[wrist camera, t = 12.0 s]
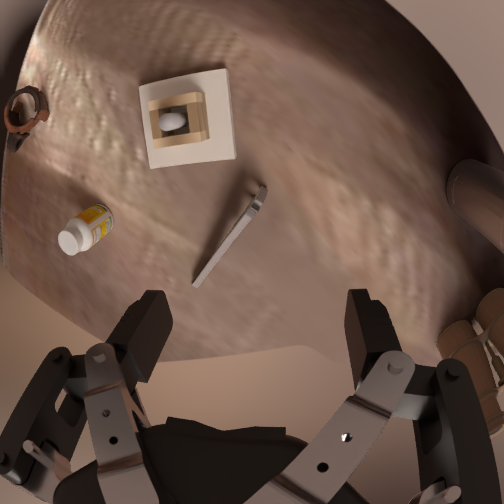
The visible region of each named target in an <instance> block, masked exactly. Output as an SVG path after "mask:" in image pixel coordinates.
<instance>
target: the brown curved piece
mask: <svg viewBox="0 0 504 504" xmlns="http://www.w3.org/2000/svg"><path fill="white" fill-rule="evenodd" d="M22 93H29V94H31V95H32V96H33V98H34V100H35V112H36V111H38V112H37V115H36V116H35V118H31V119H30V120H29V121H28V122H27V123H26V124H24V125H22V124H21V122H20V119H19V113H20V109H21V107H22V104H23V103H21V102H18V101H17V102H16V104H15V106H14V108H13V110H12V111H10V110H9V108H10V105H11V103H12V101H13V100H14V99H15V98H16V97H17V96H18V95H20V94H22ZM49 114H50V113H49V111H48V105H47V101H46V98H45V96H44V94H43V92H42V91H39V89H38V88H36V87H32V86H29V85H28V86H26V87H25V88H22V89H20V90H18V91H16V92H15V93H13V94H12V95H11V97H10V98H9V100H8V102H7V104H6V107H5V111H4V117H5V118H4V119H5V124H6V127H7V129H8V131H9V136H8V140H7V148H8V150H9V151H10V152H13V153H14V152H16V151H17V150H18V149H19V148H20V146H21V145H22V143H23V141H24V139H25V138H26V137H28V136H29V135H30V133H27V132H26V131H29V130H30V129H31V128H33V127H34V126H35V125H36V124H37V123H38V122H39V120H42V121H44V122H45V121H47V119H48V117H49Z"/></svg>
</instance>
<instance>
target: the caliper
mask: <svg viewBox="0 0 504 504" xmlns="http://www.w3.org/2000/svg"><path fill="white" fill-rule="evenodd" d="M267 191H268V190H267V189H266V188H264V187H263V186H261V187H260V188H259V190H258V192H257V194H256V196H255V195H254V196H253V198H252V200H251V201H250V203H249V205H248V207H247V208H246V210H245V212H244V213H243V214H242V215H241V216H240V218H239V219H238V221H237V222H236V223H235V224H234V226H233V228H232V229H231V231H230V232H229V234H228V235H227V236H226V238H225V239H224V240H223V242H222V243H221V244H220V246H219V247H218V249H217V250H216V251H215V253H214V254H213V256H212V257H211V258H210V260H209V261H208V262H207V264H206V265H205V267H204V268H203V269H202V271H201V272H200V274H199V275H198V277H197V278H196V280H195V281H194V282H193V284H192V285H193V286H194V287H196V288H197V287H198V286H200V284H201V283H202V282H203V280H204V279H205V278H206V276H207V275H208V274H209V272H210V271H211V270H212V268H213V267H214V266H215V264H216V263H217V262H218V260H219V259H220V258H221V256H222V255H223V254H224V253H225V251H226V250H227V249H228V247H229V246H230V245H231V243H232V242H233V241H234V240H235V239H236V238H237V236H238V235H239V234H240V232H241V231H242V230H243V229H244V227H245V226H246V225H247V223H248V222H249V221H250V220H251V219H253V217H254V216H255V214H256V212H257V213H258V211H259V209H260V207H261V205H262V204H263V202H264V200H265V198H266V195H267Z"/></svg>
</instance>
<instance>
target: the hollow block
mask: <svg viewBox="0 0 504 504" xmlns="http://www.w3.org/2000/svg"><path fill="white" fill-rule="evenodd" d="M148 106H149V115H150V122H151V130H152V137H153V143H154V149H157V148H163V147H169V146H176V145H182V144H189V143H197V142H202V141H205V140H207V139H210V134H209V126H208V117H207V108H206V98H205V93H199V92H192V93H187V94H181V95H176V96H171V97H167V98H162V99H158V100H153V101H149V102H148ZM181 106H187V112H188V120H189V128H190V132H186V133H180V134H174V132H173V130H169V131H164V130H162V129H161V128H160V127H159V124H158V121H159V118H160V117H161V116H162V115H163V114H166V113H171V108H176V107H181Z"/></svg>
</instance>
